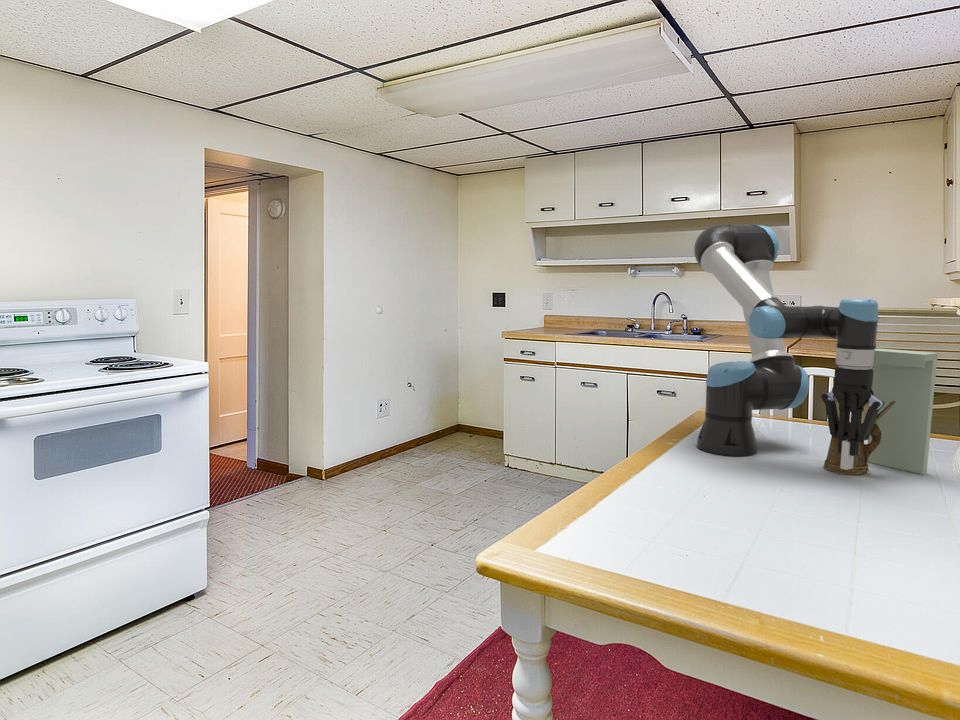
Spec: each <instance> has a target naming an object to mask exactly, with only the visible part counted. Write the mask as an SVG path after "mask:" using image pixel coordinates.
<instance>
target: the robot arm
mask: <svg viewBox="0 0 960 720" xmlns="http://www.w3.org/2000/svg"><path fill="white" fill-rule="evenodd" d="M693 248H694V249H693V252H694V257H695V260H696V262H697V264H698V265H699V266H700V267H701V268H702V270H703V271H705V272H706V273H709V274H712V276H714V277H715V278H716V280H717V281H718V282H719V283H720V284H721V285H722V287H724V289H725V290H726V291H727V292H728V293H729V295H731V297H732V298H733V299H734V300H735V301H736V302H737V303H738V305H740V306H741V308H742V312H743V317H744V323H745V327H746V332H747V338H748V341H749V342H748V343H749V348H750V353H751V358H750V360H749V361H741V360H740V361H739V360H738V361H725V362H719V363H716V364H715V363H714V364H713V365H711V366H709V369H708V370H707V375H706V380H705V384H706V391H705V393H706V394H705V395H706V396H705V415H704V421H703V424H702V426H701V429H700V430H699V431H700V432H699V433H698V436H697V439H696V440H697V441H696V447H697V448H698V449H699V450H701V451H704V452H707V453H710V454H715V455H722V456H732V457H734V456H735V457H746V456H752V455H755V454H757V453H758V445H759V444H758V441H757V437H756V433H755V430H754V426H753V423H752V422H753V421H752V420H753V411H762V410H764V411H765V410H780V411H783V410H785V409H788V410H789V409H795V408H797V407H798V406H801V405H802V403H804V402H805V399H806V397H807V396H808V392H809V389H810V379H809V375H808V372H807V371H806V370H805V369H804V368H803V367H801V366H800V365H797V364H796V362H795V358H794V356H793V355H792V354H790V353H789V352H787V350H786V346H785V340H784V339H813V338H814V339H818V338H819V339H834V340H836V351H835V364H836V365H837V366H836V367H835V368H834V376H833V377H834V378H833V382H834V385H833V387H832V388H831V390H830V391H829V392H827V393H822V394H821V396H820V397H821V399H822V401H823V404H824V405H825V411H826V418H827V424H828V430H829V434H830V436H831V437H832V436H835V437H837V438H838V453H841V465H840V468H841V469H845V470H848V469H852V468H853V462H854V456H856V455H857V454H858V449H859V442H860V441H864V442H865V441H868V439H869V436H870V434H871V431H872V428H873V425H874V423H875V420H876V417H877V414H878V411H879V410H880V409H881V408H882V407H883V405H884V401H879V400H878V399H877V398H875V397H874V393H873V391H872V384H873V372H874V371H873V367H874V360H875V349H876V344H877V331H878V322H879V319H880V318H879V304H878V303H879V302H877V300H875V299H873V298H864V299H863V298H843V299H841V300H840V301H839V306H838V307H837V306H824V305H812V306H788V305H785V303H783V301H781V300H780V299H779V298H778V296H776V295H775V294H774V290H773V284H772V280H771V275H770V271H771V269H772V268H773V267H774V263H775V261H776V260H777V258H778V256H779V253H778V251H779V250H780V243H779V239H778V236H777V235H776V232H775V231H774V230H773V229H772V228H771V227H768V226H766V225H759V224H756V223H752V224H730V223H729V224H727V223H720V224H719V223H718V224H714V225H711V226H709V227H706V228H705V229H704V230H703V231H701V232H700V234H699V235H698V236H697V238H696V240H695V242H694V246H693ZM835 400H836V401H837V402H838V408H837V403H836V401H835ZM867 404H868V409H867V412H866V413H865V415H864V420H863V413H864V409H865V406H866V405H867ZM838 411H839V414H838ZM862 420H863V422H862ZM850 422H851V423H850ZM862 423H863V425H862V428H861V424H862ZM849 424H850V436H849ZM847 438H849V439H848V440H847Z"/></svg>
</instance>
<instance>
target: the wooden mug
mask: <svg viewBox="0 0 960 720" xmlns="http://www.w3.org/2000/svg"><path fill="white" fill-rule="evenodd" d="M895 403H896V402H895V401H893V402H890V403H889V404H888V405H887V406H886V407H885V408H884V409H883V410H882V411H881V412H880V413H879V414H878V415H877V417H876V420H875V423H874V425H873V428H872V431H871V434H870V435H871V436H872V441H871V443H870V444H867V443H865V440H864V441H860V442H859V449H858V454H857V455H856V456H854V462H853V468H852V469H848V470H845V469H841V468H840V465H841V453H838V438H837V437H835V436H832V435H831V437H830V442H829V447H828V450H827V456H826V458H825V460H824V464H823V468H824V469H825V470H827V471H829V472H833V473H837V474H841V475H850V476H862V475H865V474H867V473H868V472H869V471H870V470H869V465H868V464H869V462H868V457H869V456H870V454H871V453H872V452H873V451H874V450H875V449H876V448H877V446H878V445H879V444H880V441H881V430H880V428H879V426H878V425H877V423H876V422H877V421H878V420H879V419H880V418H881V417H882V416H883V415H884V414H885V413H886V412H887V411H888V410H889V409H890V408H891V407H892V406H893V405H894V404H895ZM850 423H851V421H850ZM862 425H863V422H862V423H861V428H862ZM849 436H850V424H849ZM848 439H849V438H847V440H848Z"/></svg>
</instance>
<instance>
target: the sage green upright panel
mask: <svg viewBox="0 0 960 720" xmlns="http://www.w3.org/2000/svg"><path fill="white" fill-rule="evenodd" d="M938 356H939V355H938V352H928V351H916V350H915V351H914V350H902V349H892V348H891V349H888V348H875V360H874V366H873V367H872V369H873V371H874V372H873V384H872V391H873V393H874V397H875V398H877V399H878V400H879V401H884V405H883V407H882V408H881V409H880V410H879V411H878V414H879V413H880V412H881V411H882V410H883V409H884V408H885V407H886V406H887V405H888V404H889V403H890V402H893V401H895V402H896V403H895V404H894V405H893V406H892V407H891V408H890V409H889V410H888V411H887V412H886V413H885V414H884V415H883V416H882V417H881V418H880V419H879V420H878V421H877V422H876V423H877V425H878V426H879V428H880V430H881V441H880V444H879V445H878V446H877V448H876V449H875V450H874V451H873V452H872V453H871V454H870V456H869V457H868V462H867V463H869V464H870V463H871V464H875V465H880V466H885V467H889V468H892V469H896V470H897V469H898V470H902V471H907V472H910V473H916V474H920V475H924V474H927V471H928V462H929V452H930V451H929V450H930V439H931V430H932V420H933V419H932V418H933V409H934V408H933V407H934V395H935V386H936V374H937V366H938V365H937V364H938ZM878 414H877V415H878ZM871 441H872V436H871V435H870V436H869V439H868V440H867V443H866V444H870V443H871Z"/></svg>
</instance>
